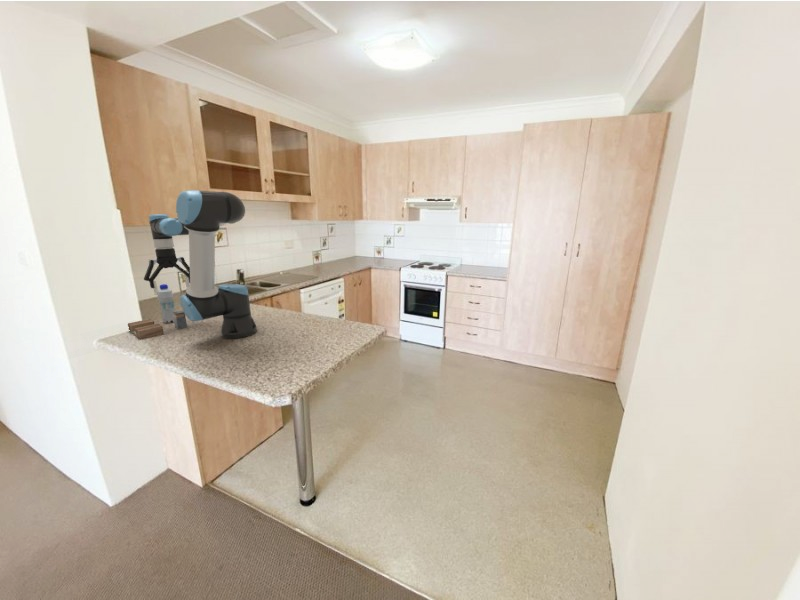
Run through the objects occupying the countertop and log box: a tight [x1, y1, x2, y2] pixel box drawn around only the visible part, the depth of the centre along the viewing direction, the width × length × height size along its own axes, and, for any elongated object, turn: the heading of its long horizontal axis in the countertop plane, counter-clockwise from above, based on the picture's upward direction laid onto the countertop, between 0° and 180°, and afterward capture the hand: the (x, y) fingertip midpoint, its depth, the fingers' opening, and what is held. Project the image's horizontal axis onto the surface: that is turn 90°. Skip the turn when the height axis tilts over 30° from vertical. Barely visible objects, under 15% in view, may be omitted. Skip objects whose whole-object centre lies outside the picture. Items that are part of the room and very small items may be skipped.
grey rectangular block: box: [172, 310, 188, 330], centre depth 160 cm, size 4×4×8 cm
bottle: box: [157, 283, 177, 324], centre depth 168 cm, size 7×7×20 cm
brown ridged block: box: [127, 318, 165, 340], centre depth 154 cm, size 18×9×4 cm, turn 52°
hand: (173, 292), depth 158 cm, fingers open, 13 cm apart
